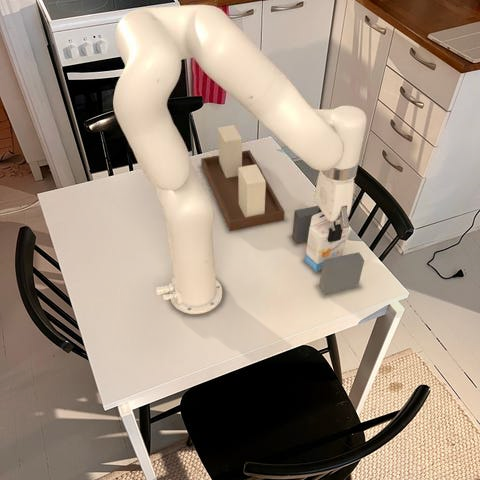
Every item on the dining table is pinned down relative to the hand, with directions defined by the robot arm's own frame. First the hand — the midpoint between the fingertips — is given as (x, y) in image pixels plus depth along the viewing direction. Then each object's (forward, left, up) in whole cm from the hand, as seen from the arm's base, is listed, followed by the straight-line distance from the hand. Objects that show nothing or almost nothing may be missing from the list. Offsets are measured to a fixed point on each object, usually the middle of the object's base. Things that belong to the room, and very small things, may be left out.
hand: (328, 231), depth 121 cm
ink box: (0, 0, -10) cm, 10 cm away
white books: (-12, +34, -10) cm, 37 cm away
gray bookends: (0, 0, -10) cm, 10 cm away
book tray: (-12, +34, -10) cm, 37 cm away
